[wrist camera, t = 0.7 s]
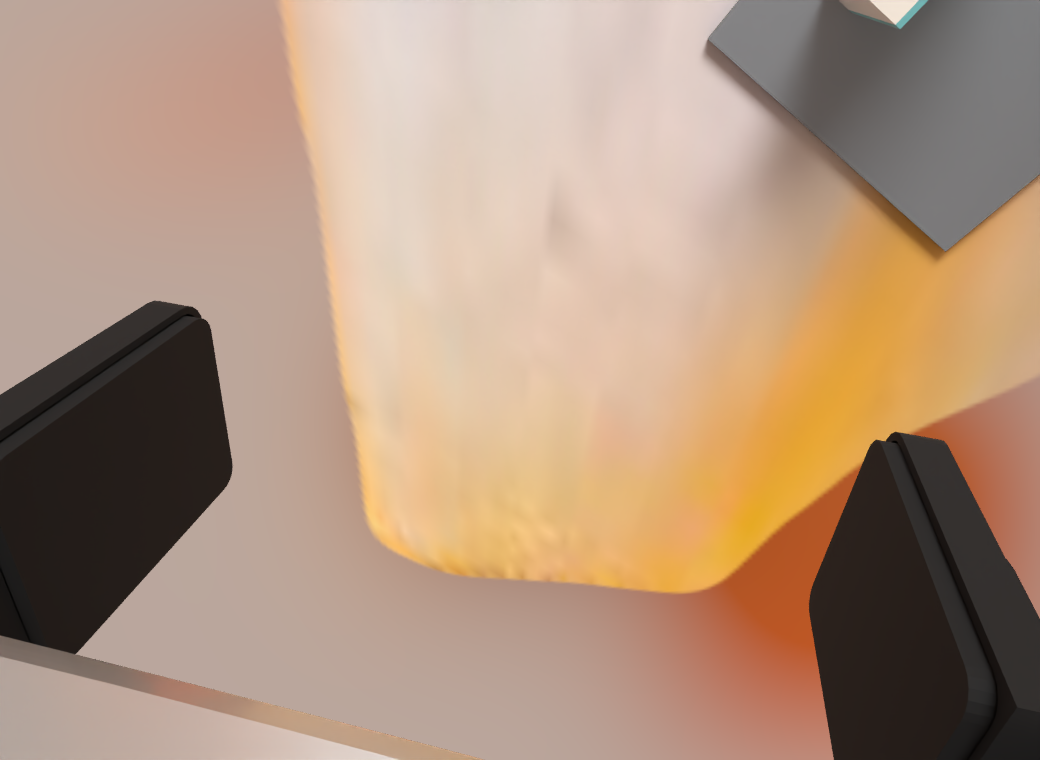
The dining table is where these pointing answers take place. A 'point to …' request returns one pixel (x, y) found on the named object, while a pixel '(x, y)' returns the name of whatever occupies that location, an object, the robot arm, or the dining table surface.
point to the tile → (885, 10)
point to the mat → (907, 97)
